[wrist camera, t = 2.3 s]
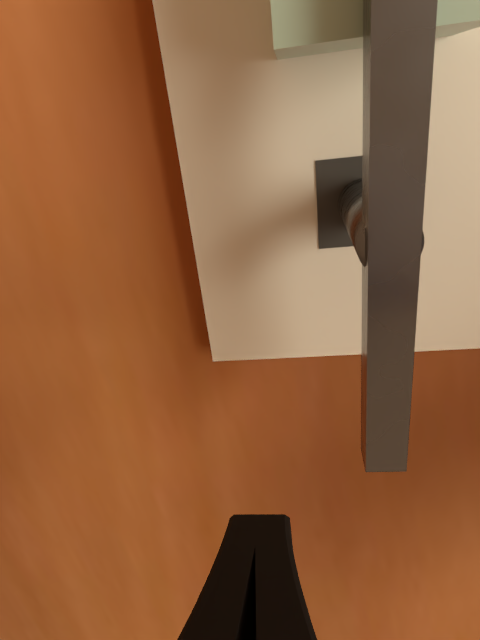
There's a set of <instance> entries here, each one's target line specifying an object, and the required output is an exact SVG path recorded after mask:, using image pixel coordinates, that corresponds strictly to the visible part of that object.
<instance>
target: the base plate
mask: <svg viewBox="0 0 480 640" xmlns="http://www.w3.org/2000/svg"><path fill="white" fill-rule="evenodd" d="M152 2H153V8H154V14H155V20H156V26H157V32H158V38H159V44H160V50H161V56H162V61H163V67H164V73H165V79H166V85H167V91H168V97H169V103H170V109H171V115H172V121H173V127H174V133H175V139H176V145H177V151H178V157H179V163H180V169H181V174H182V180H183V186H184V192H185V198H186V204H187V210H188V216H189V222H190V228H191V234H192V240H193V246H194V252H195V258H196V264H197V270H198V276H199V282H200V287H201V293H202V299H203V305H204V311H205V317H206V323H207V329H208V335H209V341H210V347H211V353H212V359H213V361H233V360H254V359H274V358H295V357H315V356H335V355H356V354H361V345H362V263H361V262H360V260H359V258H358V255H357V253H356V251H355V248H354V246H353V243H352V241H351V239H350V236H349V234H348V232H347V229H346V227H345V224H344V222H343V220H342V217H341V215H340V212H339V209H338V201H339V197H340V194H341V192H342V191H343V189H344V188H345V187H346V186H347V185H348V184H350V183H351V182H353V181H355V180H358V179H362V155H363V48H358V49H351V50H344V51H337V52H330V53H323V54H315V55H308V56H301V57H294V58H287V59H280V60H277V57H276V54H275V51H274V45H273V31H272V17H271V3H270V0H152ZM422 230H423V234H424V248H423V251H422V253H421V259H420V274H419V290H418V305H417V320H416V335H415V350H414V352H417V351H437V350H457V349H478V348H480V27H477V28H474V29H471V30H468V31H465V32H462V33H458V34H455V35H452V36H444V37H437V38H435V49H434V64H433V79H432V94H431V109H430V124H429V139H428V154H427V169H426V184H425V199H424V214H423V229H422Z"/></svg>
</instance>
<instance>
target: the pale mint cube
mask: <svg viewBox="0 0 480 640" xmlns="http://www.w3.org/2000/svg"><path fill="white" fill-rule="evenodd" d="M270 3H271V17H272V31H273V45H274V51H275V54H276V57H277V60H280V59H287V58H294V57H301V56H308V55H315V54H323V53H330V52H337V51H344V50H351V49H358V48H363V0H270ZM477 27H480V0H438V3H437V18H436V33H435V38H437V37H444V36H452V35H455V34H458V33H462V32H465V31H468V30H471V29H474V28H477Z"/></svg>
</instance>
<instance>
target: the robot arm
mask: <svg viewBox="0 0 480 640" xmlns="http://www.w3.org/2000/svg"><path fill="white" fill-rule="evenodd" d="M178 640H317V638H316V635H315V632H314V629H313V626H312V623H311V620H310V616H309V613H308V609H307V606H306V602H305V599H304V595H303V592H302V589H301V585H300V581H299V577H298V573H297V568H296V564H295V559H294V554H293V546H292V536H291V526H290V518H289V517H288V516H286V515H233V516H232V517H231V518H230V520H229V523H228V526H227V530H226V532H225V535H224V538H223V541H222V544H221V546H220V549H219V552H218V554H217V557H216V559H215V561H214V564H213V566H212V569H211V571H210V574H209V576H208V578H207V580H206V582H205V584H204V587H203V589H202V591H201V593H200V595H199V598H198V600H197V602H196V604H195V606H194V608H193V610H192V612H191V614H190V616H189V618H188V620H187V622H186V624H185V626H184V628H183V630H182V632H181V634H180V636H179V638H178Z"/></svg>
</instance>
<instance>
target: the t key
mask: <svg viewBox="0 0 480 640" xmlns="http://www.w3.org/2000/svg"><path fill="white" fill-rule="evenodd" d="M437 3H438V0H363V155H362V179H358V180H355V181H353V182H351V183H350V184H348V185H347V186H346V187H345V188H344V189H343V191H342V192H341V194H340V197H339V201H338V209H339V212H340V215H341V217H342V220H343V222H344V224H345V227H346V229H347V232H348V234H349V236H350V239H351V241H352V243H353V246H354V248H355V251H356V253H357V255H358V258H359V260H360V262H361V263H362V345H361V452H362V456H363V461H364V466H365V471H366V472H400V471H406V470H407V455H408V440H409V425H410V410H411V395H412V380H413V365H414V350H415V335H416V320H417V305H418V290H419V274H420V259H421V253H422V251H423V248H424V234H423V230H422V229H423V214H424V199H425V184H426V169H427V154H428V139H429V124H430V109H431V94H432V79H433V64H434V49H435V33H436V18H437Z"/></svg>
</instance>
